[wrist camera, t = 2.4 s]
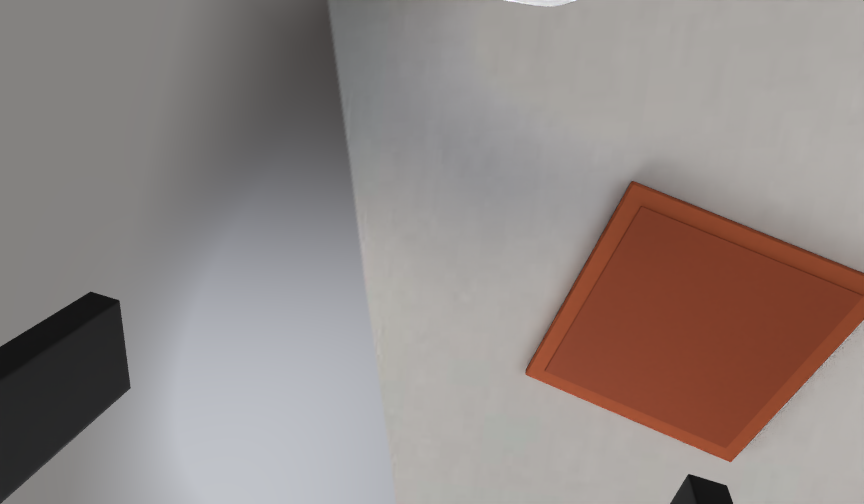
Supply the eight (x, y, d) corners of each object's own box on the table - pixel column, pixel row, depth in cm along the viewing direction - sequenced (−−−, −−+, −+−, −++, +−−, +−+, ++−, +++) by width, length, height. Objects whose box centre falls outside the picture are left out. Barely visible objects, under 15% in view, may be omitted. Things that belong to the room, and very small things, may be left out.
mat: (525, 369, 36) (525, 375, 36) (631, 180, 29) (633, 183, 29) (728, 456, 35) (731, 464, 35) (888, 282, 28) (895, 288, 28)
